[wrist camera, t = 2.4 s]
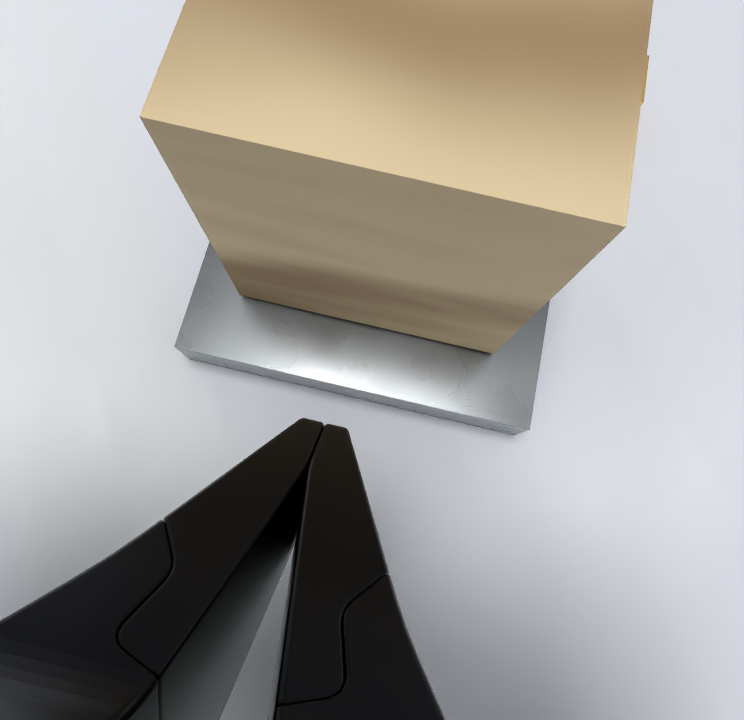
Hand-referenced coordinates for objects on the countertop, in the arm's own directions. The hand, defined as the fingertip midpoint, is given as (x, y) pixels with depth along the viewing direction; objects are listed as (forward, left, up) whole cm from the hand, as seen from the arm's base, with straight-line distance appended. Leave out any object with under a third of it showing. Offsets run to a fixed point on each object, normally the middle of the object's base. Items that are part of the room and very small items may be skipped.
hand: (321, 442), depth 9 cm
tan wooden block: (+7, 0, -6) cm, 9 cm away
